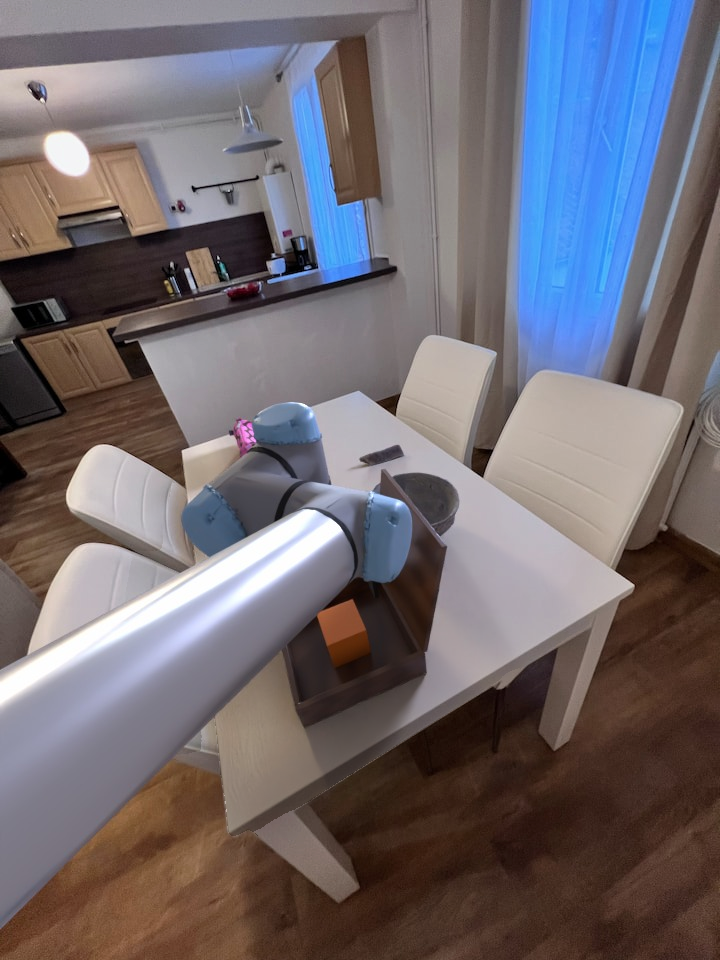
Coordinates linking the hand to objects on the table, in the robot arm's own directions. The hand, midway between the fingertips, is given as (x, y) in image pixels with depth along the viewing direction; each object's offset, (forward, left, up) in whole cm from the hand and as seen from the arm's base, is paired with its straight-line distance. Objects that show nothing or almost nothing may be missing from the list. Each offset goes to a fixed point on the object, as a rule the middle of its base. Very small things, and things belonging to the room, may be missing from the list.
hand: (337, 607), depth 68 cm
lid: (+12, 0, +6) cm, 14 cm away
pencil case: (-7, +81, -12) cm, 82 cm away
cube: (0, 0, -11) cm, 11 cm away
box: (0, 0, -12) cm, 12 cm away
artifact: (+30, +55, -12) cm, 64 cm away
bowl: (+25, +22, -12) cm, 35 cm away
